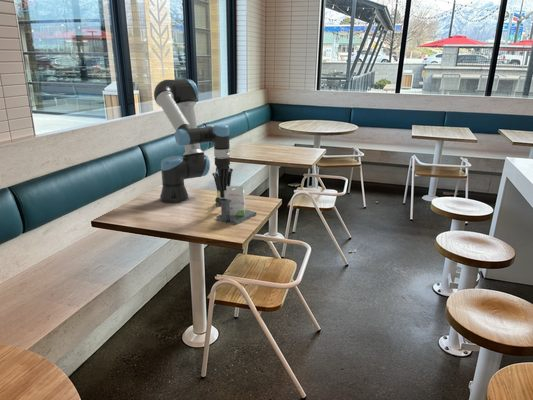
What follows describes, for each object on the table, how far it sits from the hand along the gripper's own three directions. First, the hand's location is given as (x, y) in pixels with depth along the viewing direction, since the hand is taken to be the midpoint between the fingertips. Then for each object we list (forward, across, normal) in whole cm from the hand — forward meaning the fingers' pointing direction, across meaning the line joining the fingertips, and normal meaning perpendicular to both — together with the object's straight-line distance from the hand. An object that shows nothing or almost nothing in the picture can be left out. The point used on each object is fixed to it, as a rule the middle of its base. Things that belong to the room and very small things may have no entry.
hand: (224, 202), depth 205 cm
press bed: (+4, -4, -11) cm, 12 cm away
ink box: (+3, -4, -11) cm, 12 cm away
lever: (-1, +1, +4) cm, 4 cm away
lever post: (+4, +6, +8) cm, 11 cm away
